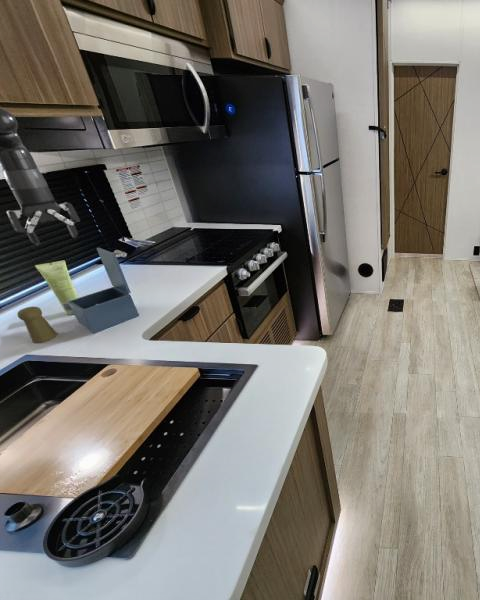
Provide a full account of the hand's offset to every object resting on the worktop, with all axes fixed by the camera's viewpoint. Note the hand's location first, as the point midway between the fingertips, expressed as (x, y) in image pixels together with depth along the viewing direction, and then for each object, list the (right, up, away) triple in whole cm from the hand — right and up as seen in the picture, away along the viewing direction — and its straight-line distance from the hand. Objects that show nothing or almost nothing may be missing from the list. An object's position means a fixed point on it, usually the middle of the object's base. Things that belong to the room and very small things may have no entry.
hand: (57, 240), depth 102 cm
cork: (-11, -31, +7) cm, 33 cm away
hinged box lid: (+5, -8, +14) cm, 17 cm away
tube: (-16, -23, +22) cm, 35 cm away
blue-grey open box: (+2, -25, +16) cm, 30 cm away
